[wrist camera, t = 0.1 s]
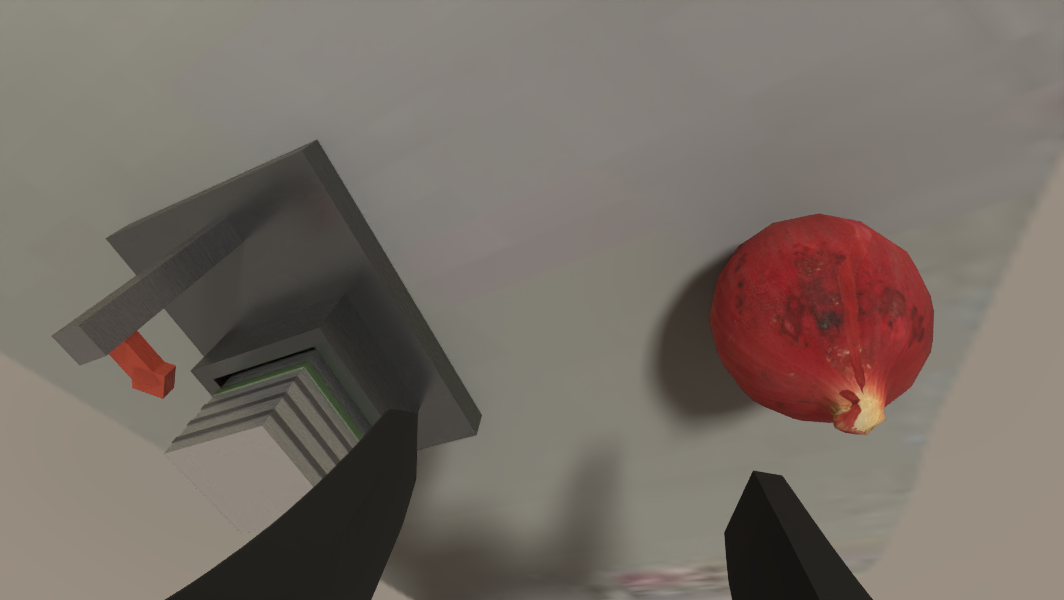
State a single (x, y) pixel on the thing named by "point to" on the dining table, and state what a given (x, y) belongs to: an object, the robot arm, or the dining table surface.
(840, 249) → the onion
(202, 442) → the column
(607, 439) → the dining table surface
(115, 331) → the jack base
